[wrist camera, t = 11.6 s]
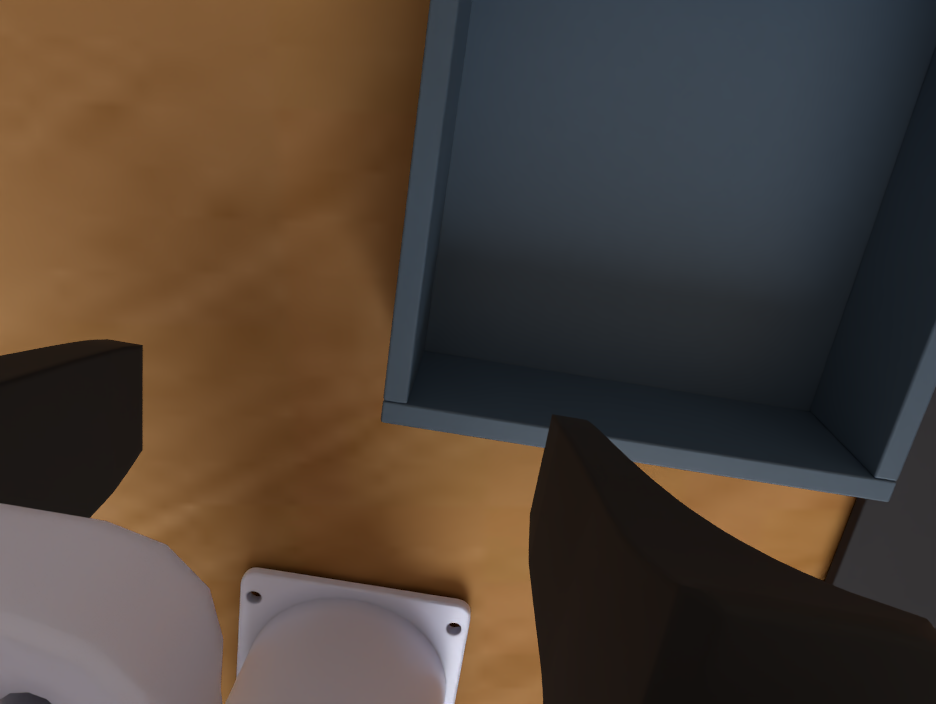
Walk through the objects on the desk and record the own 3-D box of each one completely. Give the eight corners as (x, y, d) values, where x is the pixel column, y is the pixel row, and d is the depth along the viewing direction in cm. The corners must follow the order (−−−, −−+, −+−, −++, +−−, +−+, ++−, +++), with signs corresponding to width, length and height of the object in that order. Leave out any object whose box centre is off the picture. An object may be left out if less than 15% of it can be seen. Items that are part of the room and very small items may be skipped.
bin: (813, 423, 22) (889, 503, 18) (405, 358, 22) (380, 422, 18) (982, -57, 17) (1139, -109, 13) (468, -139, 17) (455, -218, 13)
